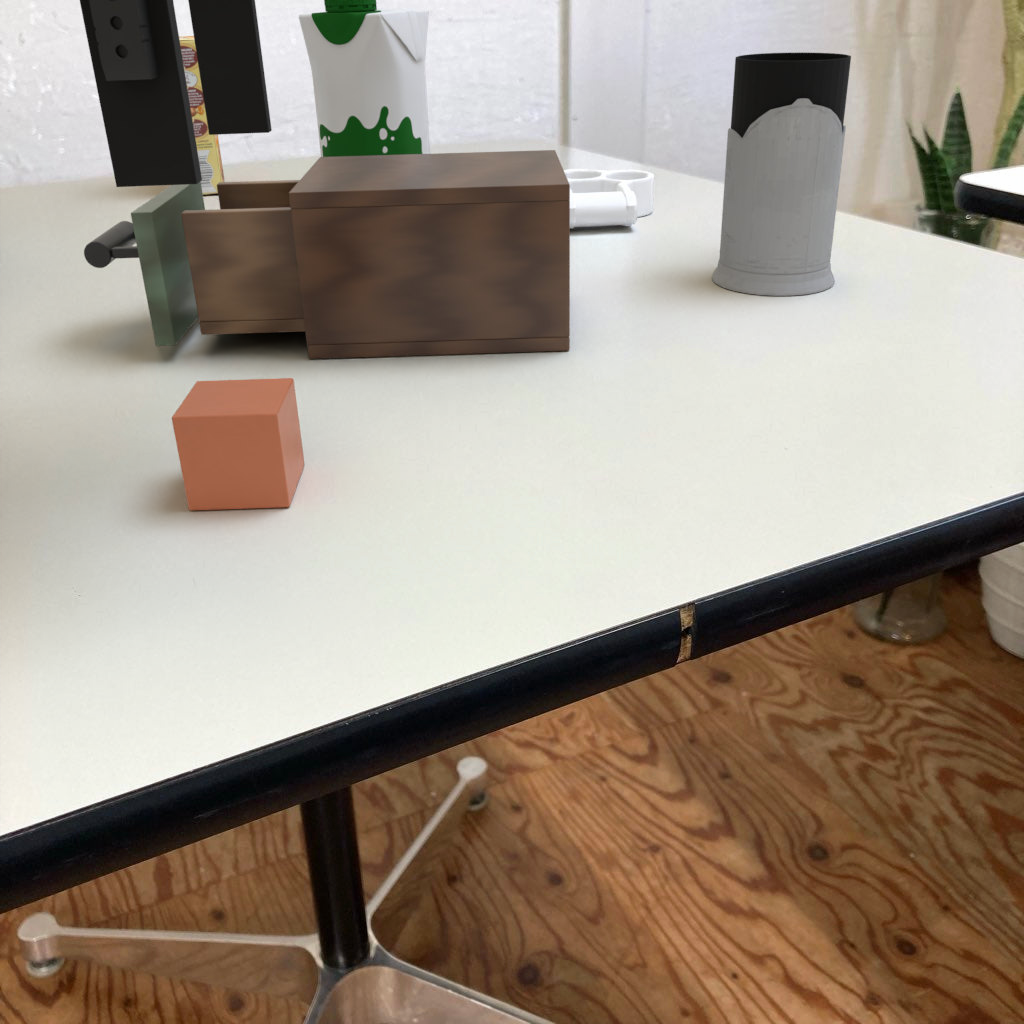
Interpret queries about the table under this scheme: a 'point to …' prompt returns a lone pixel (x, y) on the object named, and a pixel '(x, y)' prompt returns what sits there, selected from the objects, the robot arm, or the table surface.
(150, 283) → the drawer
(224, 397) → the block
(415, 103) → the milk carton
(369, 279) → the cabinet
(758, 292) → the glass holder
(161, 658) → the table surface
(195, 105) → the candy box
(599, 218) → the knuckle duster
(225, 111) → the robot arm
